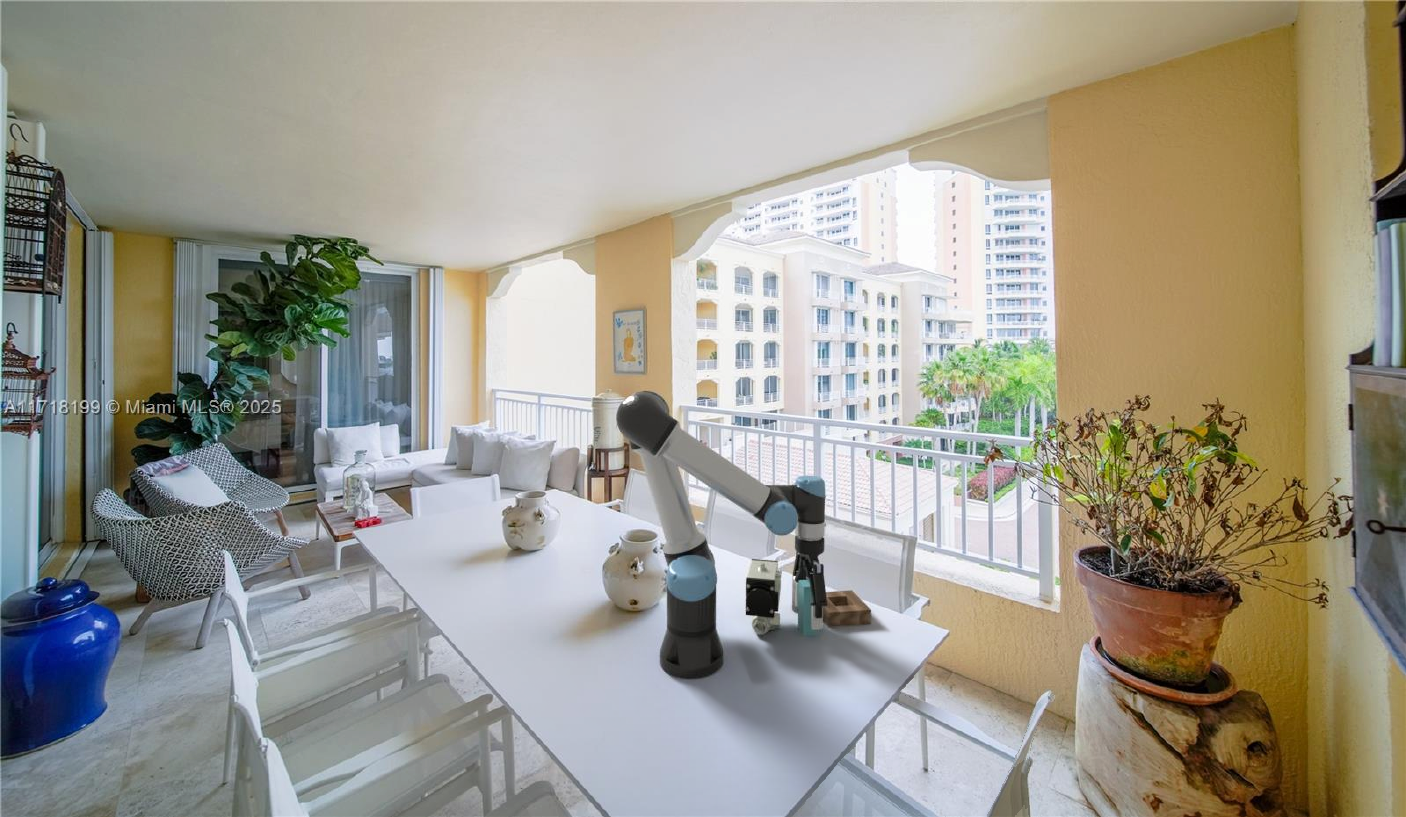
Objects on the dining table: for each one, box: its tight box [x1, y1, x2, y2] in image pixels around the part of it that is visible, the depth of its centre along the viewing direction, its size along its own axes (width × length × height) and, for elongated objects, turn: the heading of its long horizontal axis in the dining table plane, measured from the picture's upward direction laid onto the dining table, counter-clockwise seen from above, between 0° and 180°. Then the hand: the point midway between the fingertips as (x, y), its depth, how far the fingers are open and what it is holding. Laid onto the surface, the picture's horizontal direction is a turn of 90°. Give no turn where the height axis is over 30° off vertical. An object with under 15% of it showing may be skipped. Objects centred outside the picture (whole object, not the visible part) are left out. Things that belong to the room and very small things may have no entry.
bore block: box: [823, 589, 872, 628], centre depth 144 cm, size 12×12×4 cm
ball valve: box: [745, 558, 783, 636], centre depth 136 cm, size 18×8×18 cm, turn 168°
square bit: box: [797, 580, 820, 636], centre depth 135 cm, size 4×4×13 cm
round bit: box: [791, 575, 809, 614], centre depth 147 cm, size 5×5×10 cm
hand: (808, 616), depth 136 cm, fingers open, 12 cm apart
